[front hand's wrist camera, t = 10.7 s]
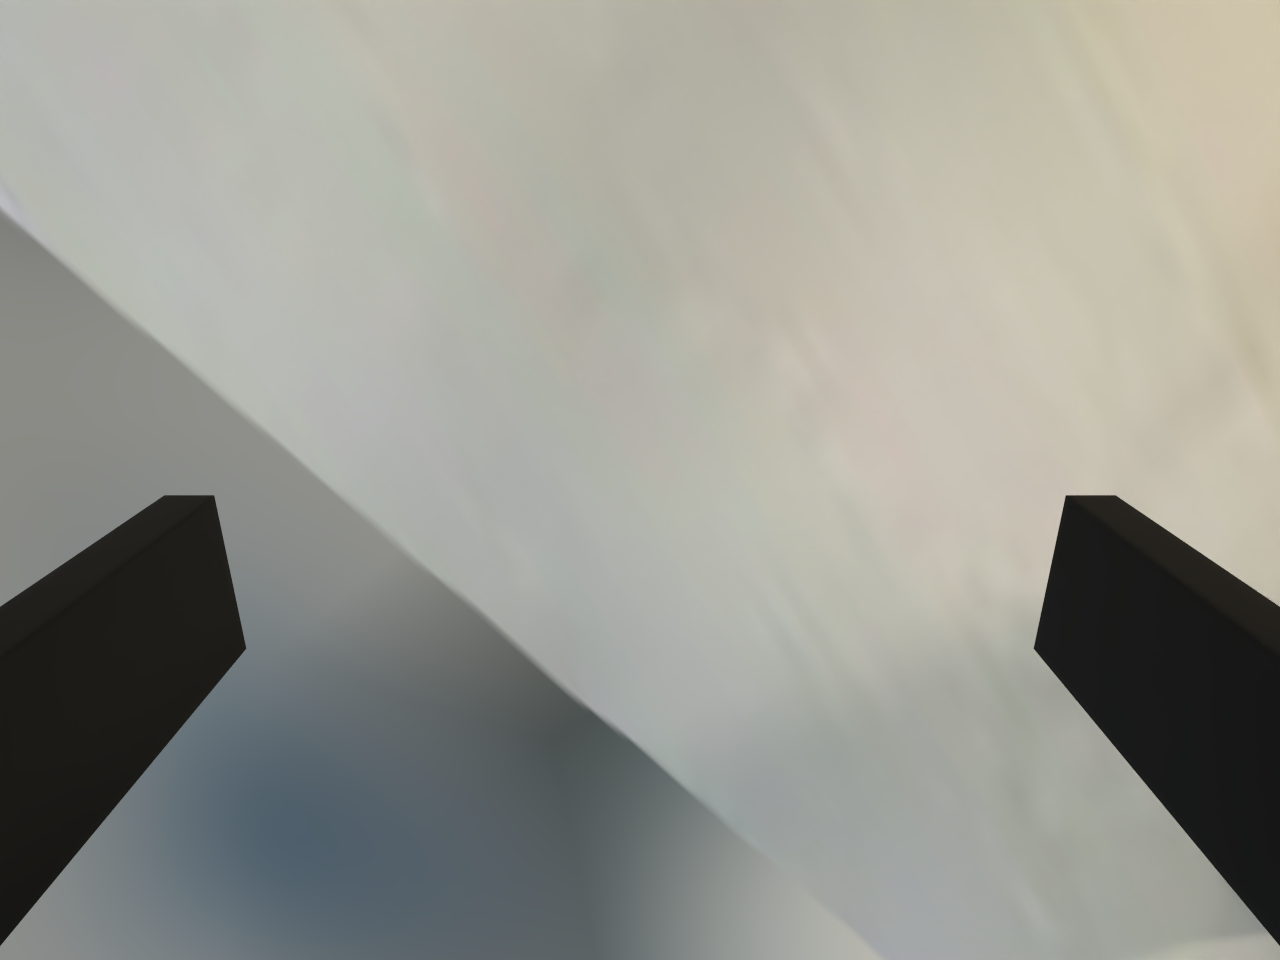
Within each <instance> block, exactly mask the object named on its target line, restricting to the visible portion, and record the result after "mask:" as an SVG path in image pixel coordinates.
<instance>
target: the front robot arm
mask: <svg viewBox="0 0 1280 960" xmlns="http://www.w3.org/2000/svg"><path fill="white" fill-rule="evenodd" d="M245 649H246V646H245V641H244V636H243V631H242V626H241V622H240V617H239V612H238V607H237V602H236V598H235V593H234V588H233V583H232V579H231V574H230V569H229V564H228V560H227V555H226V550H225V545H224V541H223V536H222V531H221V526H220V521H219V517H218V512H217V507H216V502H215V497H214V496H213V495H211V496H210V495H209V496H207V495H205V496H204V495H202V496H199V495H197V496H194V495H192V496H191V495H190V496H187V495H186V496H183V495H182V496H181V495H173V496H172V495H171V496H170V495H168V496H167V495H165V496H163V497H161V498H160V499H158V500H157V501H156V502H154V503H153V504H151V505H150V506H148V507H147V508H145V509H144V510H142V511H141V512H139V513H138V514H136V515H135V516H133V517H132V518H130V519H129V520H128V521H126V522H125V523H123V524H122V525H120V526H119V527H117V528H116V529H114V530H113V531H111V532H110V533H108V534H107V535H105V536H104V537H102V538H101V539H100V540H98V541H97V542H95V543H94V544H92V545H91V546H89V547H88V548H86V549H85V550H83V551H82V552H80V553H79V554H77V555H76V556H75V557H73V558H72V559H70V560H69V561H67V562H66V563H64V564H63V565H61V566H60V567H58V568H57V569H55V570H54V571H52V572H51V573H49V574H48V575H46V576H45V577H44V578H42V579H41V580H39V581H38V582H36V583H35V584H33V585H32V586H30V587H29V588H27V589H26V590H24V591H23V592H21V593H20V594H19V595H17V596H15V597H14V598H13V599H11V600H10V601H8V602H7V603H5V604H4V605H2V606H1V607H0V945H1V944H2V943H3V942H4V941H5V939H6V938H7V937H8V936H9V934H10V933H11V932H12V931H13V930H14V928H15V927H16V926H17V925H18V924H19V922H20V921H21V920H22V919H23V918H24V916H25V915H26V914H27V913H28V912H29V910H30V909H31V908H32V907H33V905H34V904H35V903H36V902H37V901H38V900H39V898H40V897H41V896H42V895H43V893H44V892H45V891H46V890H47V889H48V887H49V886H50V885H51V884H52V883H53V881H54V880H55V879H56V878H57V876H58V875H59V874H60V873H61V872H62V871H63V869H64V868H65V867H66V866H67V864H68V863H69V862H70V861H71V860H72V858H73V857H74V856H75V855H76V854H77V852H78V851H79V850H80V849H81V848H82V846H83V845H84V844H85V843H86V842H87V840H88V839H89V838H90V837H91V835H92V834H93V833H94V832H95V831H96V829H97V828H98V827H99V826H100V825H101V823H102V822H103V821H104V820H105V819H106V817H107V816H108V815H109V814H110V813H111V811H112V810H113V809H114V808H115V806H116V805H117V804H118V803H119V802H120V800H121V799H122V798H123V797H124V796H125V794H126V793H127V792H128V791H129V790H130V788H131V787H132V786H133V785H134V783H135V782H136V781H137V780H138V779H139V777H140V776H141V775H142V774H143V773H144V771H145V770H146V769H147V768H148V767H149V765H150V764H151V763H152V762H153V760H154V759H155V758H156V757H157V756H158V755H159V753H160V752H161V751H162V750H163V748H164V747H165V746H166V745H167V744H168V742H169V741H170V740H171V739H172V738H173V736H174V735H175V734H176V733H177V732H178V730H179V729H180V728H181V727H182V726H183V724H184V723H185V722H186V721H187V719H188V718H189V717H190V716H191V715H192V713H193V712H194V711H195V710H196V709H197V707H198V706H199V705H200V704H201V703H202V701H203V700H204V699H205V698H206V696H207V695H208V694H209V693H210V692H211V691H212V689H213V688H214V687H215V686H216V684H217V683H218V682H219V681H220V680H221V678H222V677H223V676H224V675H225V674H226V672H227V671H228V670H229V669H230V667H231V666H232V665H233V664H234V663H235V662H236V660H237V659H238V658H239V657H240V655H241V654H242V653H243V652H244V651H245ZM1034 649H1035V651H1036V652H1037V653H1038V654H1039V655H1040V657H1041V658H1042V659H1043V660H1044V662H1045V663H1046V664H1047V665H1048V666H1049V668H1050V669H1051V670H1052V671H1053V672H1054V674H1055V675H1056V676H1057V677H1058V678H1059V680H1060V681H1061V682H1062V683H1063V684H1064V686H1065V687H1066V688H1067V689H1068V691H1069V692H1070V693H1071V694H1072V695H1073V697H1074V698H1075V699H1076V700H1077V701H1078V703H1079V704H1080V705H1081V706H1082V707H1083V709H1084V710H1085V711H1086V712H1087V713H1088V715H1089V716H1090V717H1091V718H1092V720H1093V721H1094V722H1095V723H1096V724H1097V726H1098V727H1099V728H1100V729H1101V730H1102V732H1103V733H1104V734H1105V735H1106V736H1107V738H1108V739H1109V740H1110V741H1111V742H1112V744H1113V745H1114V746H1115V747H1116V748H1117V750H1118V751H1119V752H1120V753H1121V755H1122V756H1123V757H1124V758H1125V759H1126V761H1127V762H1128V763H1129V764H1130V765H1131V767H1132V768H1133V769H1134V770H1135V771H1136V773H1137V774H1138V775H1139V776H1140V777H1141V779H1142V780H1143V781H1144V782H1145V784H1146V785H1147V786H1148V787H1149V788H1150V790H1151V791H1152V792H1153V793H1154V794H1155V796H1156V797H1157V798H1158V799H1159V800H1160V802H1161V803H1162V804H1163V805H1164V806H1165V808H1166V809H1167V810H1168V811H1169V813H1170V814H1171V815H1172V816H1173V817H1174V819H1175V820H1176V821H1177V822H1178V823H1179V825H1180V826H1181V827H1182V828H1183V829H1184V831H1185V832H1186V833H1187V834H1188V835H1189V837H1190V838H1191V839H1192V840H1193V842H1194V843H1195V844H1196V845H1197V846H1198V848H1199V849H1200V850H1201V851H1202V852H1203V854H1204V855H1205V856H1206V857H1207V858H1208V860H1209V861H1210V862H1211V863H1212V864H1213V866H1214V867H1215V868H1216V869H1217V871H1218V872H1219V873H1220V874H1221V875H1222V877H1223V878H1224V879H1225V880H1226V881H1227V883H1228V884H1229V885H1230V886H1231V887H1232V889H1233V890H1234V891H1235V892H1236V893H1237V895H1238V896H1239V897H1240V898H1241V900H1242V901H1243V902H1244V903H1245V904H1246V906H1247V907H1248V908H1249V909H1250V910H1251V912H1252V913H1253V914H1254V915H1255V916H1256V918H1257V919H1258V920H1259V921H1260V922H1261V924H1262V925H1263V926H1264V927H1265V928H1266V930H1267V931H1268V932H1269V933H1270V935H1271V936H1272V937H1273V938H1274V939H1275V941H1276V942H1277V943H1278V944H1279V945H1280V607H1279V606H1278V605H1276V604H1275V603H1273V602H1272V601H1270V600H1269V599H1267V598H1266V597H1265V596H1263V595H1262V594H1260V593H1259V592H1257V591H1256V590H1254V589H1253V588H1251V587H1250V586H1248V585H1247V584H1245V583H1244V582H1242V581H1241V580H1239V579H1238V578H1236V577H1235V576H1234V575H1232V574H1231V573H1229V572H1228V571H1226V570H1225V569H1223V568H1222V567H1220V566H1219V565H1217V564H1216V563H1214V562H1213V561H1211V560H1210V559H1208V558H1207V557H1206V556H1204V555H1203V554H1201V553H1200V552H1198V551H1197V550H1195V549H1194V548H1192V547H1191V546H1189V545H1188V544H1186V543H1185V542H1183V541H1182V540H1180V539H1179V538H1178V537H1176V536H1175V535H1173V534H1172V533H1170V532H1169V531H1167V530H1166V529H1164V528H1163V527H1161V526H1160V525H1158V524H1157V523H1155V522H1154V521H1152V520H1151V519H1150V518H1148V517H1147V516H1145V515H1144V514H1142V513H1141V512H1139V511H1138V510H1136V509H1135V508H1133V507H1132V506H1130V505H1129V504H1127V503H1126V502H1124V501H1123V500H1122V499H1120V498H1119V497H1117V496H1116V495H1066V497H1065V502H1064V507H1063V512H1062V517H1061V521H1060V526H1059V531H1058V536H1057V540H1056V545H1055V550H1054V555H1053V559H1052V564H1051V569H1050V574H1049V579H1048V583H1047V588H1046V593H1045V598H1044V602H1043V607H1042V612H1041V617H1040V622H1039V626H1038V631H1037V636H1036V641H1035V645H1034Z"/></svg>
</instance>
